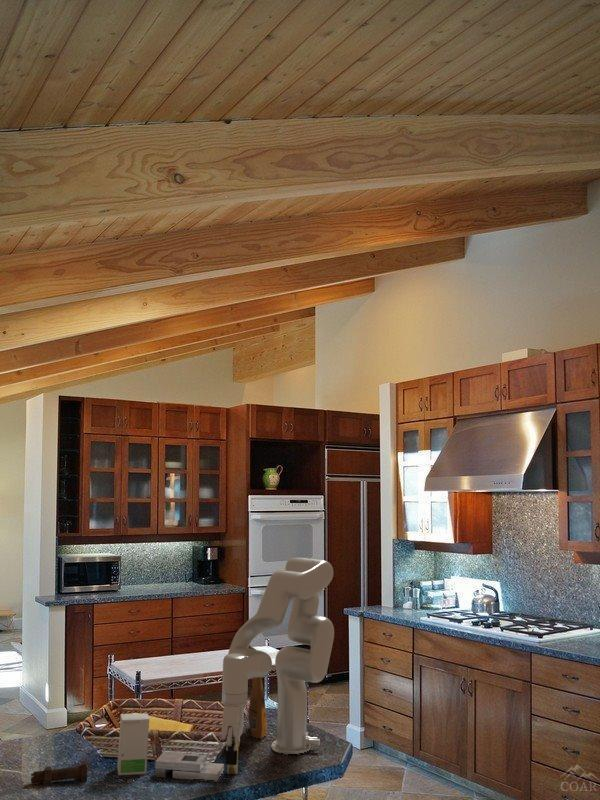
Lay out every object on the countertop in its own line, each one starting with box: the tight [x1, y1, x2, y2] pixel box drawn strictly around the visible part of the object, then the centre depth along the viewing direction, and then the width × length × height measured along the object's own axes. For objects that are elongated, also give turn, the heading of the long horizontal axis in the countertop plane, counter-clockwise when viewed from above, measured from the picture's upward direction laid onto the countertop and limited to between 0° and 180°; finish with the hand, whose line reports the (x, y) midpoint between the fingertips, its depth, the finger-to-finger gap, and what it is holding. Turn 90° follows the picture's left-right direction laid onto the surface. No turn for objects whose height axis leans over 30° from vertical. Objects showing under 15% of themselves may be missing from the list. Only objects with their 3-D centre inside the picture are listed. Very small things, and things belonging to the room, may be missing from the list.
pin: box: [226, 738, 239, 776], centre depth 236 cm, size 3×3×10 cm
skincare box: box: [116, 712, 150, 776], centre depth 236 cm, size 8×7×16 cm
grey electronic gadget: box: [154, 751, 225, 782], centre depth 235 cm, size 18×8×4 cm, turn 83°
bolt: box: [30, 760, 88, 786], centre depth 226 cm, size 6×5×15 cm
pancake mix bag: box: [248, 645, 268, 740], centre depth 275 cm, size 7×19×28 cm, turn 9°
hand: (232, 761), depth 236 cm, fingers closed on pin, 3 cm apart
